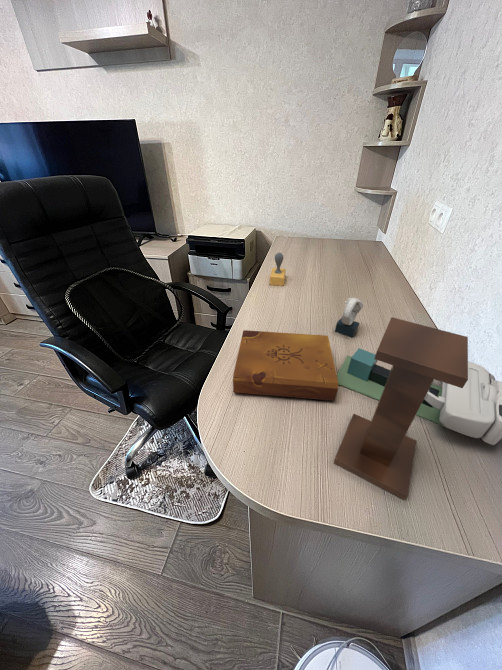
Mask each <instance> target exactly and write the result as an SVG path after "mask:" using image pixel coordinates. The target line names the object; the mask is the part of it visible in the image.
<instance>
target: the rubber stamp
mask: <svg viewBox="0 0 502 670" xmlns="http://www.w3.org/2000/svg"><path fill="white" fill-rule="evenodd" d="M283 261H284V255H283V253H282V252H277V253H276V254H275V255H274V262H275V265H276V267H272V268H271V271H270V275H269V285H270V286H279V287H283V286H285V279H286V270H287V269H286V268H281V266H282V264H283Z"/></svg>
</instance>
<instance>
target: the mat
mask: <svg viewBox="0 0 502 670" xmlns="http://www.w3.org/2000/svg"><path fill="white" fill-rule="evenodd" d="M351 357H352V356H350V355H347V356H346V358H345V359H344V361H343V363H342V365H341V366H340V368H339V370H338V372H337V373H336V374H337V379H338V386H339V387H343V388H345V389H347V390H350V391H353V392H355V393H358V394H360V395H362V396H366V397H367V398H371V399H373V400H375V401H378V402H379V400H380V397H381V394H382V392H383V389H384V386H382V385H380V384H377V383H375V382H373V381H371V380H367V382H366V381H364V380H362V379H360V378H357V377H355V376H353V375H351V374H348V373H347V371H348V368H349V364H350V360H351ZM387 369H388V368H387ZM388 370H390V369H388ZM430 387H432V388H435V389H437V390H439V394H438V396H437V397H439V396H440V397H442V387H443V386H439V385H436V384H433V383H432V384H431V386H430ZM415 417H419V418H421V419H423V420H425V421H426V420H427V421H429V422H431V423H433V424H437V425H439V426H442V427H444V428H446V427H445V426H444V425H443V424H442V423H441V422H440V421H439V418H440V409H437V408H435V407H433V406H432V408H431V407H429V406H427V405H424V404H421V406H420V408H419V410H418V411H417V413H416V415H415Z"/></svg>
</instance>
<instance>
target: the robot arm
mask: <svg viewBox="0 0 502 670" xmlns="http://www.w3.org/2000/svg"><path fill="white" fill-rule="evenodd" d="M441 387H442V397H440V396H439V397H436V396H435V395H433V394H432V393H430V392H429V390H428V392H427V394H426V396H425V398H424V400H426V401H427V402H428V403H429V404H431V405H432V406H433V407H435V408H437V409H440V418H439V421H440V422H441V423H442V424H443V425H444V426H445V427H444V426H443V427H444V428H447V429H449V430H451V431H453V432H456V433H459V434H460V435H461V434H462V435H465V436H467V437H470V438H474V439H480V438H481V441H483V442H484V443H486V444H489V445H491V446H495V445H496V444H497V443H498V442H500V441H501V440H502V381H500V380H496V377H495V375H493V374H492V373H490V372H489V370H487V368H485V367H484V366H482V365H479V364H477V363H474V362H473V361H469V360H468V380H467V382H466V384H465V385H464V387H463V388H460V387H457V386H454V385H451V384H448V383H445V382H442V386H441Z"/></svg>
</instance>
